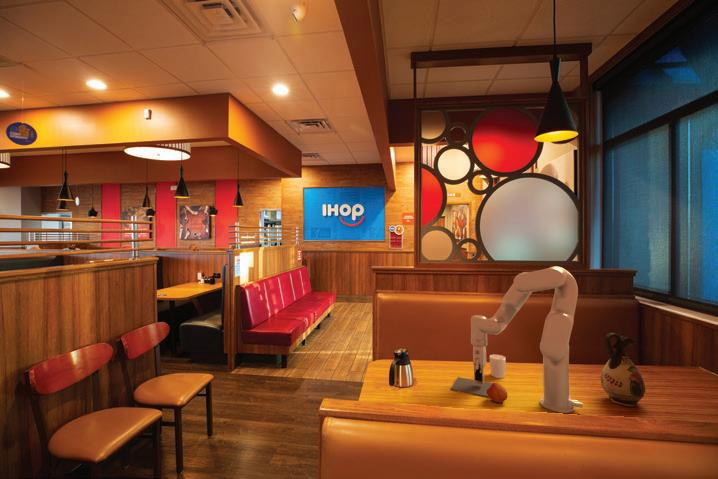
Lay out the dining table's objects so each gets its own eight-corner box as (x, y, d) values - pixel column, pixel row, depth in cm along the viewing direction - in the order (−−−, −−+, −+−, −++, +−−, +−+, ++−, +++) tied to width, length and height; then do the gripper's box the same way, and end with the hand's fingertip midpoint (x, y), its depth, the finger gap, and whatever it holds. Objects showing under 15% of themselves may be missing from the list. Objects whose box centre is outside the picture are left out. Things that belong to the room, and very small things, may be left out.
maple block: (484, 381, 163) (484, 363, 163) (482, 384, 159) (482, 365, 159) (475, 380, 164) (475, 361, 165) (474, 382, 161) (474, 364, 161)
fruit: (494, 395, 153) (493, 378, 153) (510, 402, 147) (510, 384, 147) (484, 400, 148) (483, 382, 149) (501, 407, 142) (500, 388, 142)
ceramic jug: (624, 393, 154) (623, 328, 155) (655, 409, 139) (653, 338, 139) (589, 394, 154) (587, 329, 154) (616, 411, 138) (615, 338, 139)
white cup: (486, 374, 178) (486, 355, 178) (497, 372, 181) (497, 353, 182) (498, 379, 171) (498, 360, 171) (509, 377, 174) (509, 358, 174)
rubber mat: (494, 384, 165) (494, 383, 165) (490, 397, 151) (490, 396, 151) (457, 378, 173) (457, 376, 173) (450, 389, 159) (450, 388, 159)
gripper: (484, 347, 153) (484, 387, 153) (489, 338, 167) (489, 374, 167) (467, 344, 156) (468, 383, 156) (474, 336, 171) (474, 371, 171)
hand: (479, 378), depth 162 cm, fingers closed on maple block, 4 cm apart
